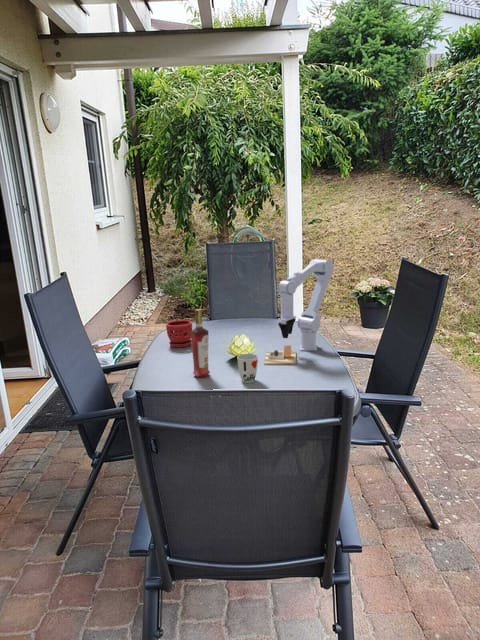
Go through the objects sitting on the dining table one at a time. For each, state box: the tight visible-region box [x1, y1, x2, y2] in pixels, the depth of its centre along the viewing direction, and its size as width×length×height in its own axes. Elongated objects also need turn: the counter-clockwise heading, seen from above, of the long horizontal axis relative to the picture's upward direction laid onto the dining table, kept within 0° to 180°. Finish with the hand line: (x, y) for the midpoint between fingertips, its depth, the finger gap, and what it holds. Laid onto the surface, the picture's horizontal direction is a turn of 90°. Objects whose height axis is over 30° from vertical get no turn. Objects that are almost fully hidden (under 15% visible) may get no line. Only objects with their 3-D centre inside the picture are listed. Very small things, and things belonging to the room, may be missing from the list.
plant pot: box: [165, 320, 193, 348], centre depth 242 cm, size 13×13×12 cm
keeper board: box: [263, 349, 297, 366], centre depth 217 cm, size 18×14×4 cm
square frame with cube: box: [268, 344, 292, 359], centre depth 217 cm, size 10×7×5 cm
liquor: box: [190, 308, 211, 378], centre depth 195 cm, size 7×7×28 cm
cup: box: [236, 353, 259, 384], centre depth 189 cm, size 8×8×10 cm
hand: (287, 335), depth 220 cm, fingers open, 7 cm apart
